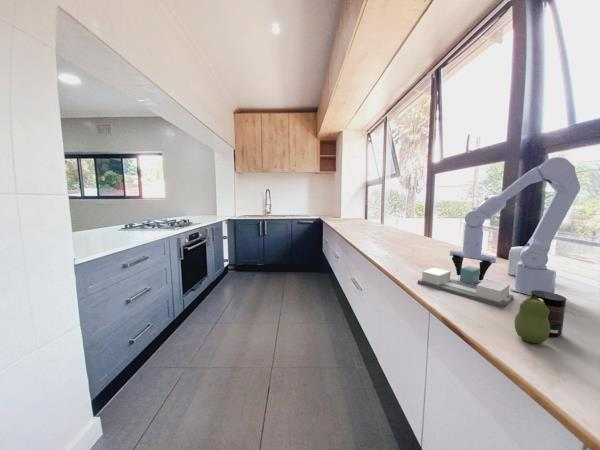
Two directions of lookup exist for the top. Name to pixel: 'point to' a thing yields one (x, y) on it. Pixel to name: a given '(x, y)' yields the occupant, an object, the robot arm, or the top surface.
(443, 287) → the rail plate
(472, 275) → the module block
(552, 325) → the supplement container
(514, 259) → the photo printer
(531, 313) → the pear
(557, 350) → the top surface
